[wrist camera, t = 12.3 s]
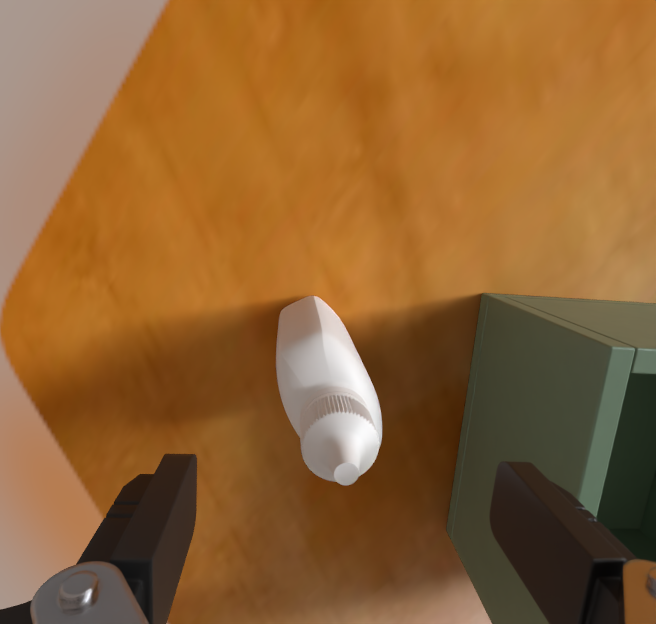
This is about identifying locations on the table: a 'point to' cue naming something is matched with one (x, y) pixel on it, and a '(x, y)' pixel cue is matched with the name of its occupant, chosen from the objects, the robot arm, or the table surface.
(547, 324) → the chest
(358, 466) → the eye dropper bottle
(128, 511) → the robot arm
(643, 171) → the table surface
